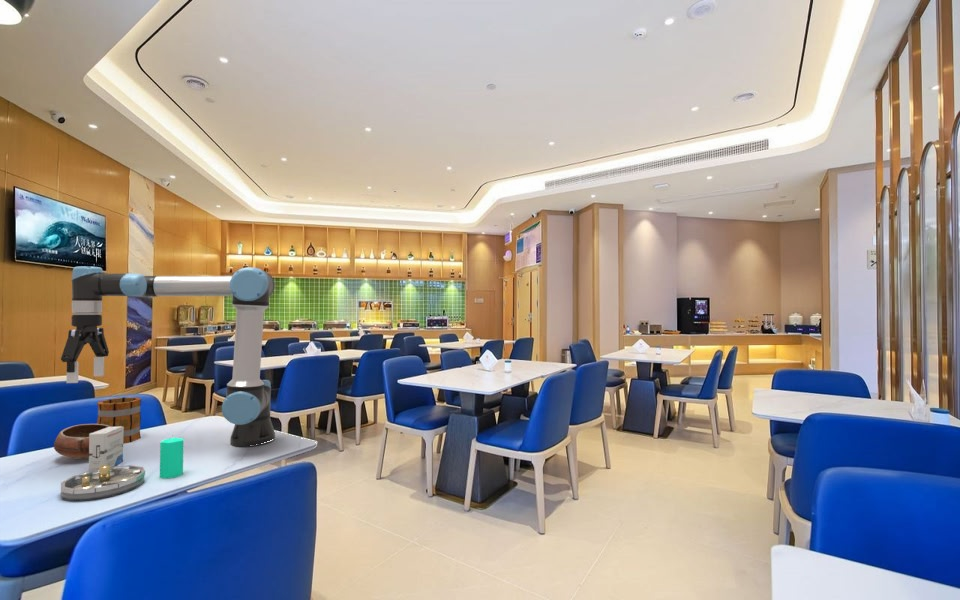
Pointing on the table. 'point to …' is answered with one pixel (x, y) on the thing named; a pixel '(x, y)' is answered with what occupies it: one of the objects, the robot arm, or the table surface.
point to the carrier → (102, 483)
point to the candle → (171, 457)
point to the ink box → (106, 447)
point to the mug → (121, 416)
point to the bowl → (76, 440)
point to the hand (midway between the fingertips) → (86, 379)
